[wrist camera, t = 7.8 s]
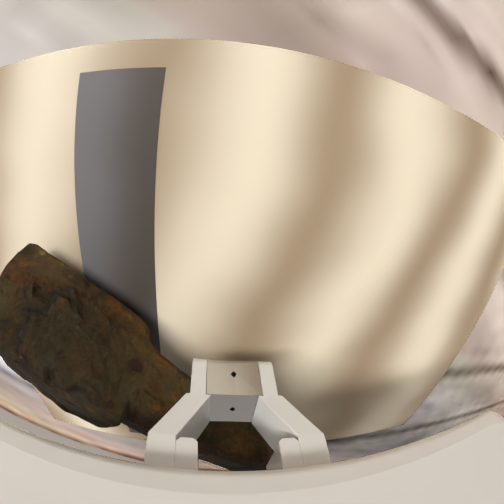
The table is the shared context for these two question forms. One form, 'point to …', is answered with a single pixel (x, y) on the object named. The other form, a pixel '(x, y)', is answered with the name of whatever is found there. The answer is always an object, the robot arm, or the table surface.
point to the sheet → (260, 213)
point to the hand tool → (101, 358)
